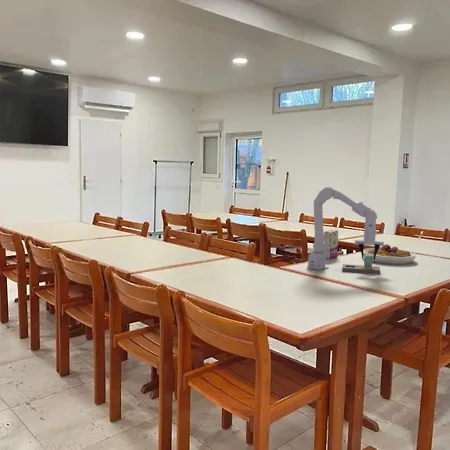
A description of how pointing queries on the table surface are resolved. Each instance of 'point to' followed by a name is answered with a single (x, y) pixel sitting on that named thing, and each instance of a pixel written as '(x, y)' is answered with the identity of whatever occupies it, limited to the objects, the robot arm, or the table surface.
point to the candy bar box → (331, 243)
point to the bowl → (390, 255)
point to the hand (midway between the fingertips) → (368, 258)
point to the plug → (368, 261)
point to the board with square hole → (360, 269)
